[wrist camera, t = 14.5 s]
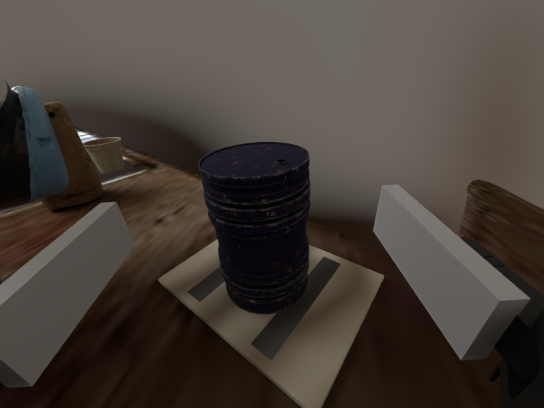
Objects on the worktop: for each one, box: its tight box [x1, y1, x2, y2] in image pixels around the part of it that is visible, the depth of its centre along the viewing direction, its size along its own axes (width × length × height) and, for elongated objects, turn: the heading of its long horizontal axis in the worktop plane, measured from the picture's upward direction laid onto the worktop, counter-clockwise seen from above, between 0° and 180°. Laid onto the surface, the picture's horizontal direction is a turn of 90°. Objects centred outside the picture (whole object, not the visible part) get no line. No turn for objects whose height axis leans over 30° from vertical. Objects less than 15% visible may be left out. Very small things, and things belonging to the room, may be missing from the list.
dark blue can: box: [198, 142, 310, 315], centre depth 24 cm, size 10×10×15 cm
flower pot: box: [83, 137, 125, 174], centre depth 67 cm, size 9×9×9 cm
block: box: [40, 102, 103, 210], centre depth 47 cm, size 11×8×20 cm
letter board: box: [158, 239, 384, 408], centre depth 28 cm, size 22×16×1 cm
